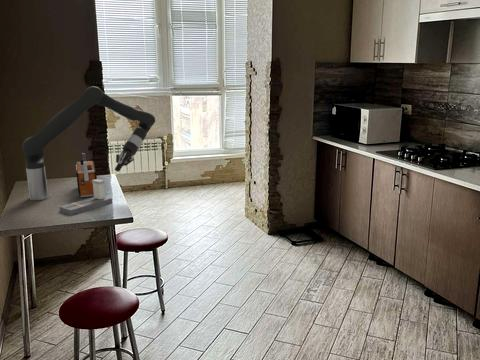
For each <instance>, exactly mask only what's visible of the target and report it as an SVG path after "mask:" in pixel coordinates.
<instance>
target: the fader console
mask: <svg viewBox="0 0 480 360" xmlns="http://www.w3.org/2000/svg"><path fill="white" fill-rule="evenodd" d="M110 204H113V198H112V197H109V196H105V198H104V199H96V198H94V196H91V197H89V198H86V199H85V198H84V199H82V200H77V201H75V202H71V203H67V204H63V205H59V212H60V213H64V214H66V215H69V214H70V216H73V215H76V213H77V214H79V213H82V212H83V213H84V212H86V211H90V210H94V209H96V208H100V207H103V206H106V205H110Z"/></svg>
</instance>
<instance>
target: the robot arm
mask: <svg viewBox="0 0 480 360" xmlns="http://www.w3.org/2000/svg"><path fill="white" fill-rule="evenodd" d="M95 105H98V106H102V107H104V108H107V109H109V110H111V111H113V112H114V113H117V114H118V115H120V116H121V117H123V118H126V119H128V120H130V121H133V122H135V121H138V122H139V123H138V124H137V126H136V128H135V129H134V130H133V131H132V134H131V135H130V136H129V137H128V138H127V140H126V142H125V144H124V145H123V147H122V151H121V152H120V153H119V154H116V157H115V163H116V166H115V168H114V171H116V173H117V172H120V171H121V170H122V168H123V167H124V166H125V167H126V166H128V165H129V164H131V163H132V162H133V161H135V158H133V157H134V156H135V155H136V154H137V152H138V151H139V149H140V147H141V146H142V144H143V142H144V140H145V139H146V137H147V134H148V133H149V131H150V129H151V128H152V127H153V125H154V124H155V123H156V117H155V116H154V115H153V114H152V113H151V112H148V111H145V110H142V109H138V108H136V107H134V106H132V105H130V104H127V103H125V102H122V101H120V100H119V99H115V98H114V97H112V96H110V95H108V94H106V92H104V91H102V89H101V88H100V87H98V86H94V85H92V86H89V87H87V88H86V89H85V91H84V92H83V93H82V94H81V95H80V96H79V97H77V98H76V99H75V101H73V102H72V103H70V104H68V105H67V106H65V107H64V108H62V109H61V110H60V111H59V112H58V113H56V114H55V115H54V116H53V117H51V119H50V120H48V122H47V123H46V124H45V125H44V127H42V128H41V129H40V130H39V131H38V132H37V133H35V134H34V135H32V136H30V137H28V138H26V139H25V140H24V142H23V143H22V147H21V148H22V151H23V153H24V159H25V160H24V161H25V162H24V163H25V172H26V178H27V186H28V195H29V200H30V201H43V200H46V199H48V198H49V191H48V190H49V189H48V182H47V174H46V165H45V156H44V149H45V148H46V146H47V145H49V143H50V142H52V141H53V140H54V139H57V138H58V137H59V136H61V135H62V134H63V133H65V132H66V131H67V130H68V129H69V128H71V127H73V125H74V124H75V123H76V122H77V121H78V120H80V118H81V117H82V116H83V114H85V112H87V111H88V110H89V109H90V108H92V107H94V106H95Z"/></svg>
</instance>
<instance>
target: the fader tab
mask: <svg viewBox="0 0 480 360" xmlns="http://www.w3.org/2000/svg"><path fill="white" fill-rule="evenodd" d="M92 183H93V191H94V196H93V197H94V198H96V199H104V198H105V197H106V196H105V195H106V194H105V180H102V179H98V178H97V179H95V180H92Z"/></svg>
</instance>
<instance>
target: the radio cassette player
mask: <svg viewBox="0 0 480 360" xmlns="http://www.w3.org/2000/svg"><path fill="white" fill-rule="evenodd" d="M81 156H82V159H81V160H80V161H77V162H75V171H76V174H75V175H76V182H77V192H78V198H87V197H89V198H90V197H94V191H93V183H92V180H95V179H98V177H97V176H98V175H97V170H96V166H95V161H93V160H90V161H89V160H88V161H87V157H86V153H85V152H84V153H83V152H82V153H81Z"/></svg>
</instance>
